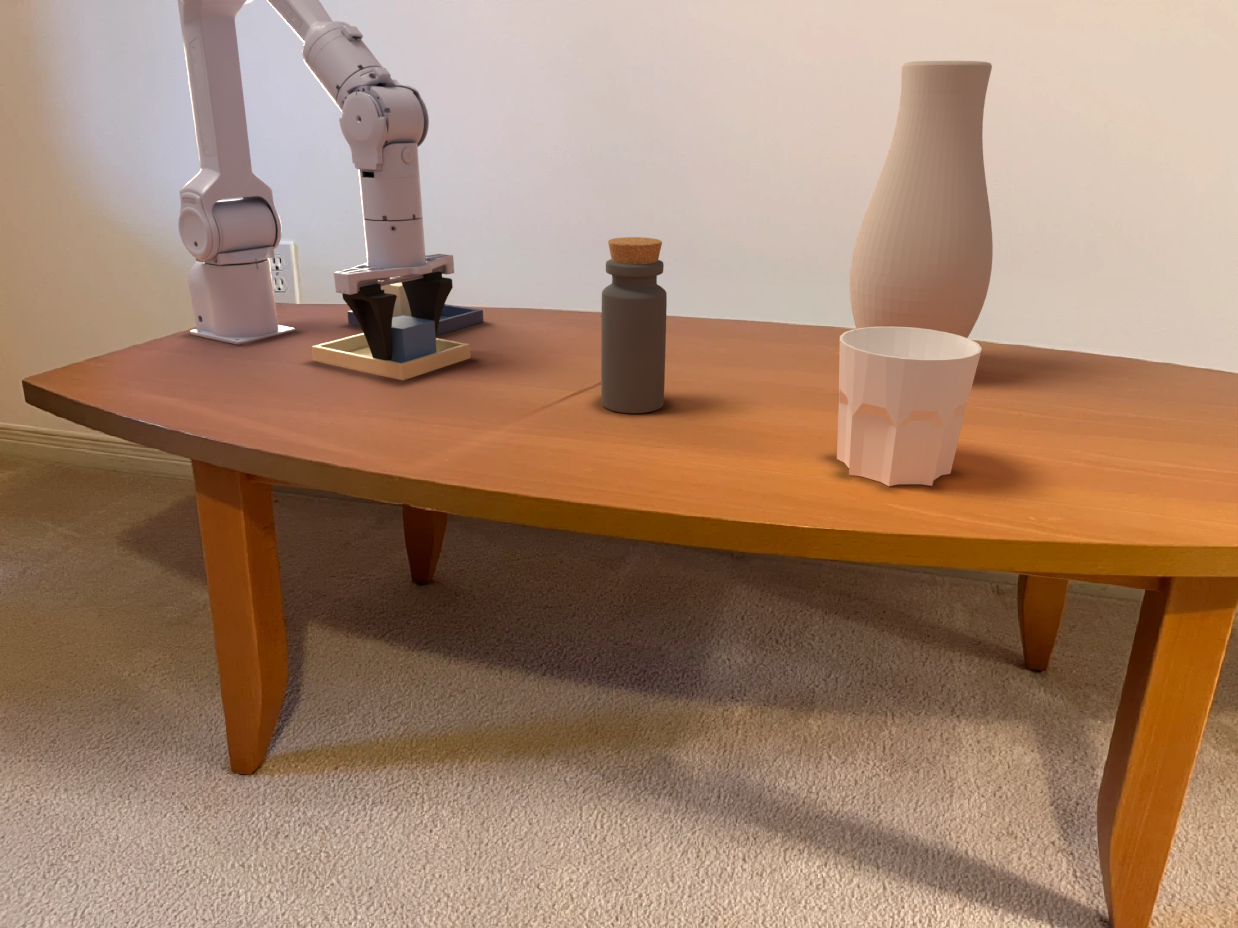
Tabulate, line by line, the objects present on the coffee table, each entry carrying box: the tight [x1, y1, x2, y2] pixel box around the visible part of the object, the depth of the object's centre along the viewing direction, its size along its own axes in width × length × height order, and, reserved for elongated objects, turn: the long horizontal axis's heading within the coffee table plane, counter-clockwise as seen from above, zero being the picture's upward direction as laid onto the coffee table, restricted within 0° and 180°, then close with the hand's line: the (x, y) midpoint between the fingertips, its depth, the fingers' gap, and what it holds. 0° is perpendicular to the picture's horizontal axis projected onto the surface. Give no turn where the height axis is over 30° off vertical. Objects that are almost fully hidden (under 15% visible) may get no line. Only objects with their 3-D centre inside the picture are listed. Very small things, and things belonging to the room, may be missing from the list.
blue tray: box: [347, 303, 484, 336], centre depth 112 cm, size 13×10×2 cm
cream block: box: [381, 282, 412, 318], centre depth 114 cm, size 5×5×5 cm
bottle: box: [600, 236, 668, 414], centre depth 81 cm, size 6×6×15 cm
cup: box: [836, 327, 983, 487], centre depth 68 cm, size 10×10×10 cm
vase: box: [849, 60, 994, 339], centre depth 91 cm, size 14×14×30 cm
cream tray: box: [311, 332, 471, 381], centre depth 96 cm, size 13×10×2 cm
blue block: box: [389, 315, 437, 363], centre depth 93 cm, size 5×5×5 cm
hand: (404, 352), depth 93 cm, fingers open, 6 cm apart
